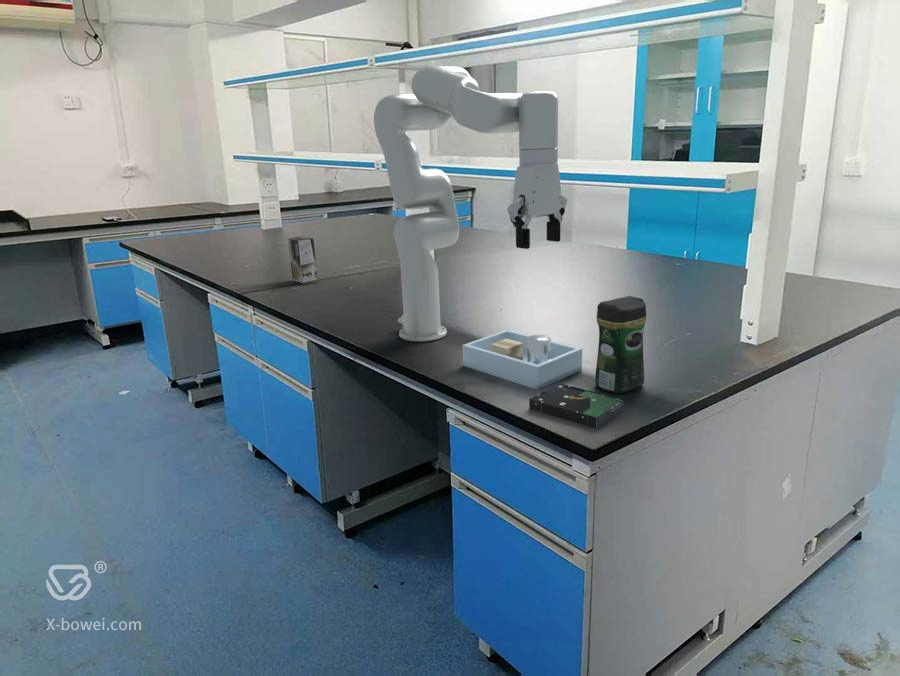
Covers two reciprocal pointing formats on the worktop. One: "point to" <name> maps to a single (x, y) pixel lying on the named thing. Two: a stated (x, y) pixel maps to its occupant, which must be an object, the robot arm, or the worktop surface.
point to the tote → (522, 361)
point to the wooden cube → (508, 348)
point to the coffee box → (302, 258)
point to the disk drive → (577, 405)
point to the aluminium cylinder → (538, 349)
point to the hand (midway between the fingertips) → (538, 244)
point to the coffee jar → (620, 344)
